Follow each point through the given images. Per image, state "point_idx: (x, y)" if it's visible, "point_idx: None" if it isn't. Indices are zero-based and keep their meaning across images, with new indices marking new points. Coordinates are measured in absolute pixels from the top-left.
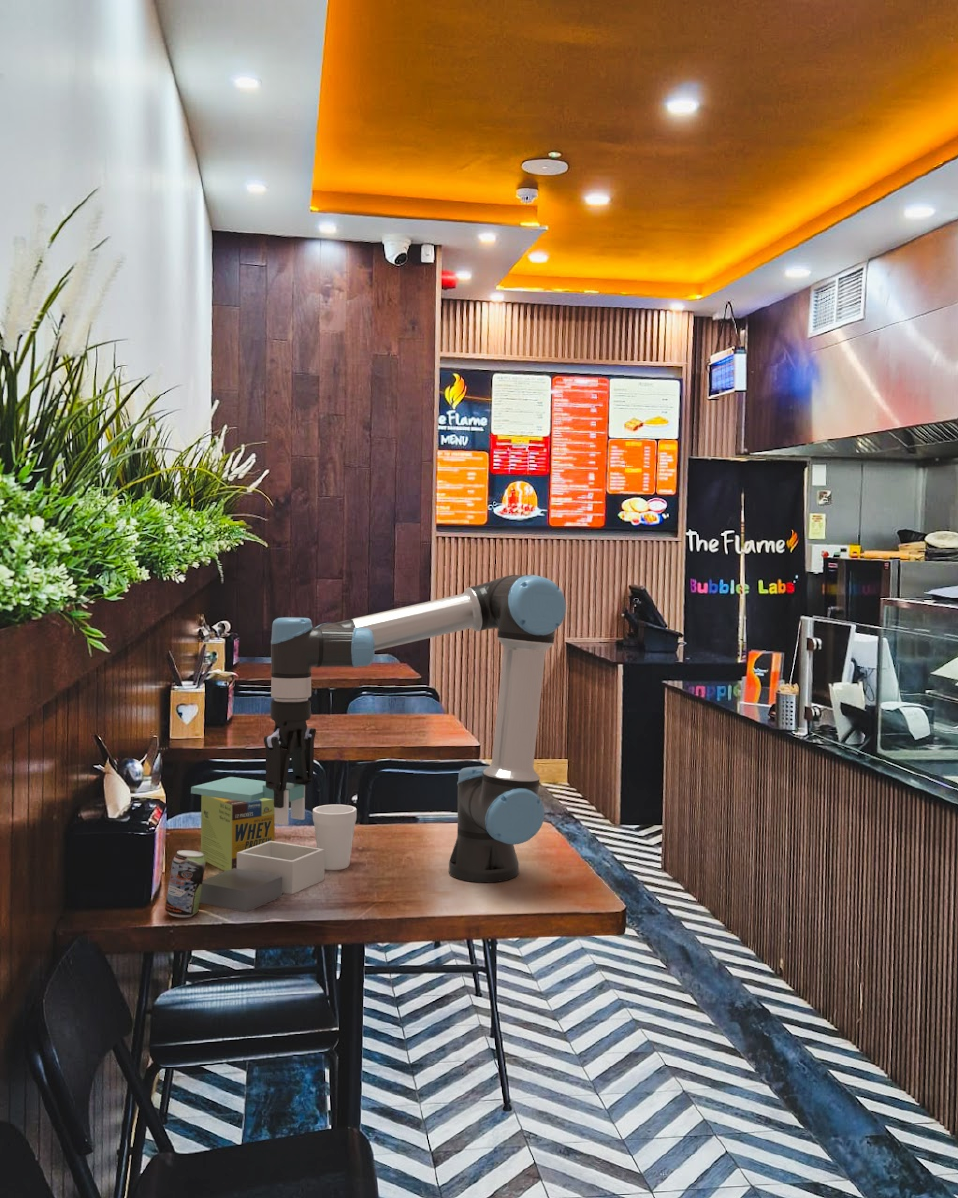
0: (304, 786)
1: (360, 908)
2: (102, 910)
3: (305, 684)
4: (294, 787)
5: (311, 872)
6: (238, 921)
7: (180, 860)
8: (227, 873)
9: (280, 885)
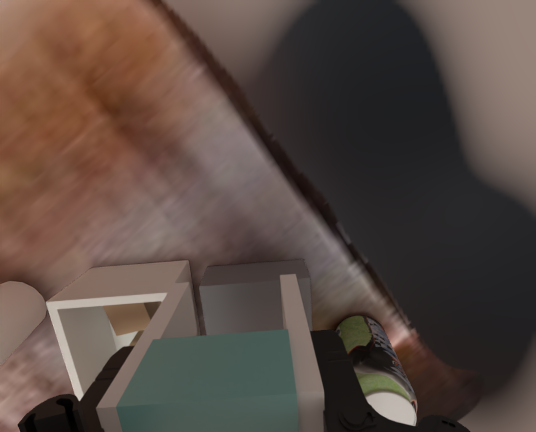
0: (104, 402)
1: (158, 114)
2: None
3: None
4: (237, 400)
5: (117, 278)
6: (333, 249)
7: (416, 406)
8: None
9: (207, 278)
